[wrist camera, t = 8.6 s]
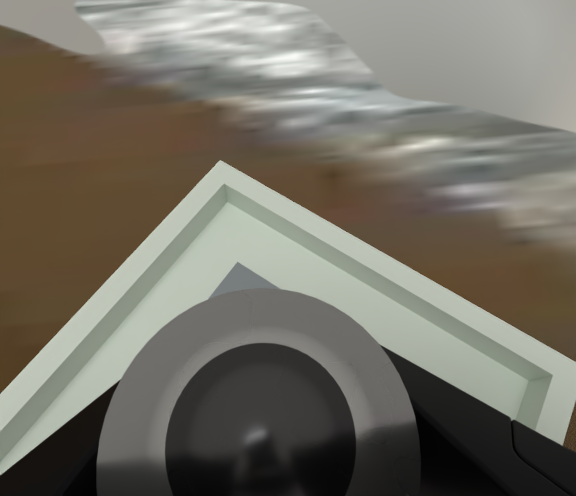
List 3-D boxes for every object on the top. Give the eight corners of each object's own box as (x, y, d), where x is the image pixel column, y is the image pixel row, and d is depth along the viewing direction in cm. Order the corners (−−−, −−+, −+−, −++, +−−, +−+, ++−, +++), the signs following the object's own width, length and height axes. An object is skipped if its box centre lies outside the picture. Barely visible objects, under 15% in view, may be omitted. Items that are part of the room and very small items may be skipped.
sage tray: (355, 957, 11) (376, 1087, 8) (-73, 521, 14) (-132, 534, 12) (546, 376, 18) (585, 367, 16) (225, 188, 22) (220, 160, 19)
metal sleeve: (227, 547, 13) (127, 778, 4) (186, 405, 15) (57, 344, 6) (354, 482, 14) (504, 548, 5) (300, 357, 16) (339, 239, 7)
